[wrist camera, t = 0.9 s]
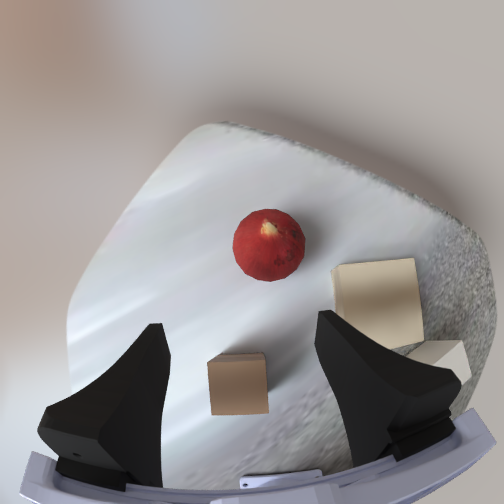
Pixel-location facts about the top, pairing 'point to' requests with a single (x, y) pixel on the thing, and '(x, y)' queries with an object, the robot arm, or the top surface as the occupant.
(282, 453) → the top surface
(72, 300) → the top surface
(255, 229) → the onion
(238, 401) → the walnut block
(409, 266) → the beech slab
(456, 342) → the offwhite block
